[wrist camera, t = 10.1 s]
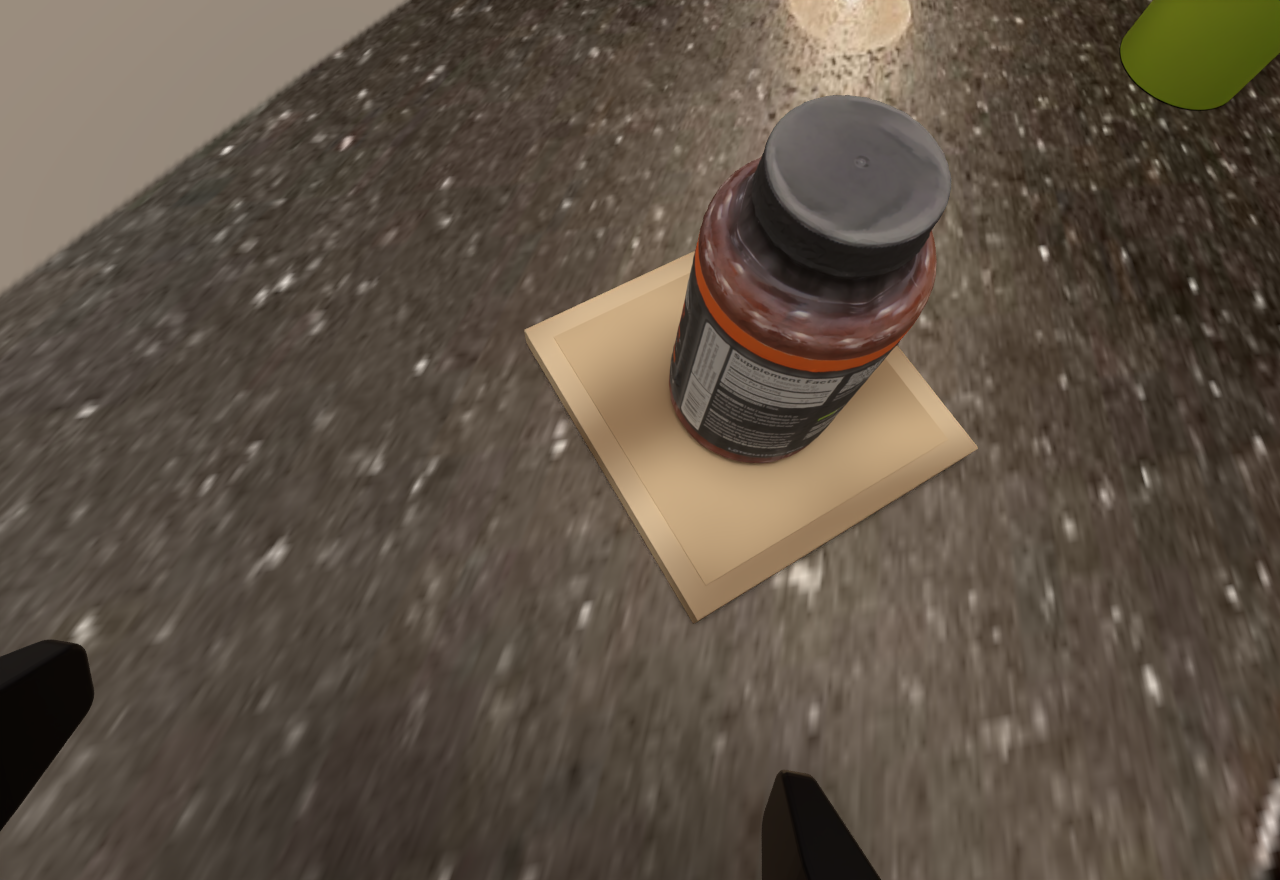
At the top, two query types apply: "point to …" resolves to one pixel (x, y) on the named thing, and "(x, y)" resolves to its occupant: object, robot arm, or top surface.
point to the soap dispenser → (1201, 48)
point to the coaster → (721, 487)
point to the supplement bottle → (806, 276)
